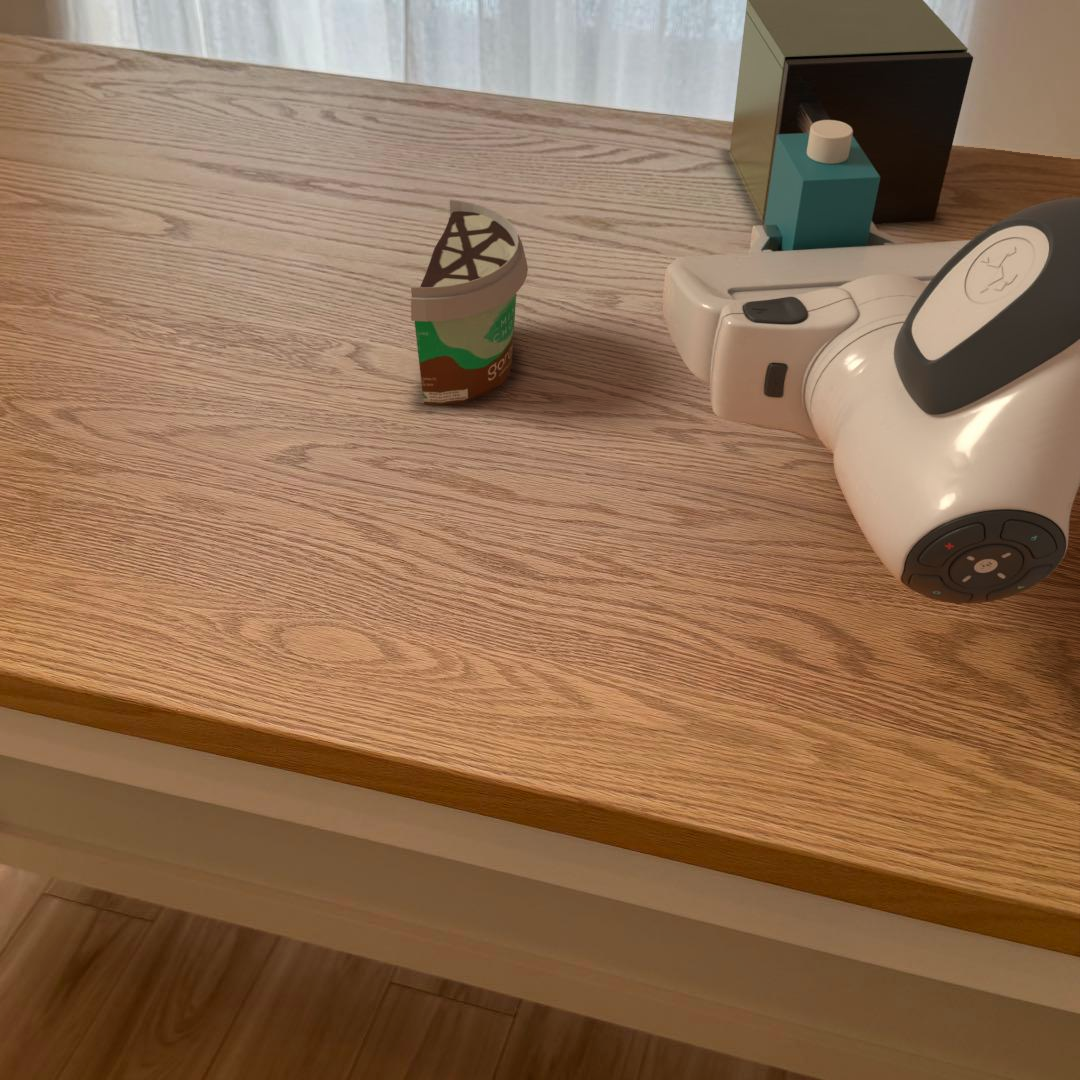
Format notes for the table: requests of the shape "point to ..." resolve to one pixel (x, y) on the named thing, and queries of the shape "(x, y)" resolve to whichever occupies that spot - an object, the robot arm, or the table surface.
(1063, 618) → the table surface
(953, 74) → the black cabinet door
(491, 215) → the food container
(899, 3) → the olive green small cabinet
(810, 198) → the detergent bottle
